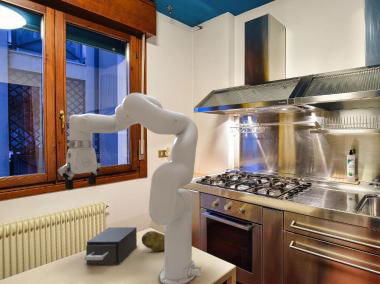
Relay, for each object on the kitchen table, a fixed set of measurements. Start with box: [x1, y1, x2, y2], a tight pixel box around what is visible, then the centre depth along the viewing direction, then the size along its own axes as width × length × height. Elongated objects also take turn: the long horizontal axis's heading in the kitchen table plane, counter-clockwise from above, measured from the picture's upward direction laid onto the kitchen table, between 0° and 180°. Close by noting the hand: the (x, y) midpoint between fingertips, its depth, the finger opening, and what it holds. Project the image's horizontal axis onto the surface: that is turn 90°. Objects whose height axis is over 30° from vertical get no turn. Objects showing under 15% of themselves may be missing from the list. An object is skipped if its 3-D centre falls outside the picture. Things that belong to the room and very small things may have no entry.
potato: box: [141, 230, 165, 252], centre depth 102 cm, size 8×13×8 cm, turn 81°
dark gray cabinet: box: [86, 226, 138, 265], centre depth 97 cm, size 15×13×9 cm
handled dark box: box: [83, 244, 117, 265], centre depth 93 cm, size 18×11×7 cm, turn 1°
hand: (81, 186), depth 93 cm, fingers open, 9 cm apart
